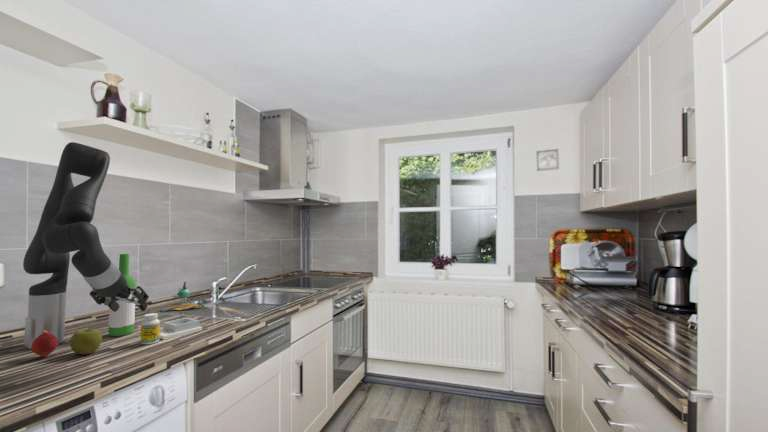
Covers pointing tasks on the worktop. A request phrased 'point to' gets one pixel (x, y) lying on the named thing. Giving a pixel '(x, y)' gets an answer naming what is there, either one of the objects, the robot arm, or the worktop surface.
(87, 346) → the apple
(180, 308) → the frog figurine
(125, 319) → the wine bottle
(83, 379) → the worktop surface
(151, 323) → the supplement bottle
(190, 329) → the end holder
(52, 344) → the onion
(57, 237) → the robot arm
